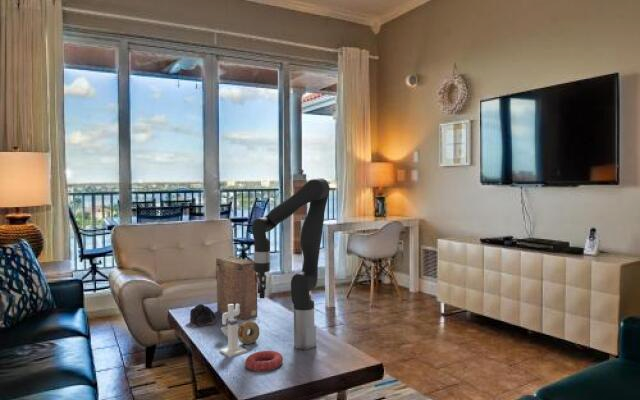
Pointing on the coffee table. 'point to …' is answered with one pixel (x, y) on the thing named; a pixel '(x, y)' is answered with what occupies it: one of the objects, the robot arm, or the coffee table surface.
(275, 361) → the torus
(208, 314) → the black rough rounded lump
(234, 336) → the post
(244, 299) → the brown wooden box
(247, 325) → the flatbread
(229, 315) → the figurine
